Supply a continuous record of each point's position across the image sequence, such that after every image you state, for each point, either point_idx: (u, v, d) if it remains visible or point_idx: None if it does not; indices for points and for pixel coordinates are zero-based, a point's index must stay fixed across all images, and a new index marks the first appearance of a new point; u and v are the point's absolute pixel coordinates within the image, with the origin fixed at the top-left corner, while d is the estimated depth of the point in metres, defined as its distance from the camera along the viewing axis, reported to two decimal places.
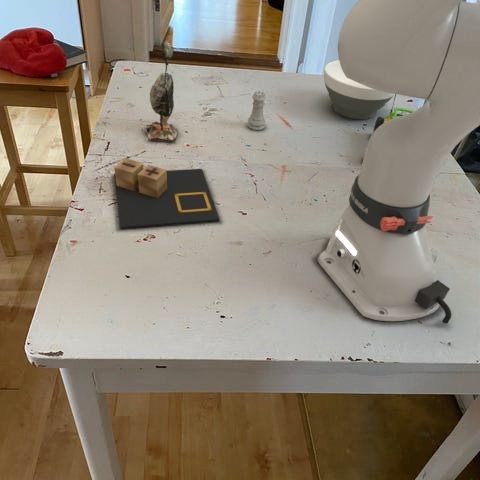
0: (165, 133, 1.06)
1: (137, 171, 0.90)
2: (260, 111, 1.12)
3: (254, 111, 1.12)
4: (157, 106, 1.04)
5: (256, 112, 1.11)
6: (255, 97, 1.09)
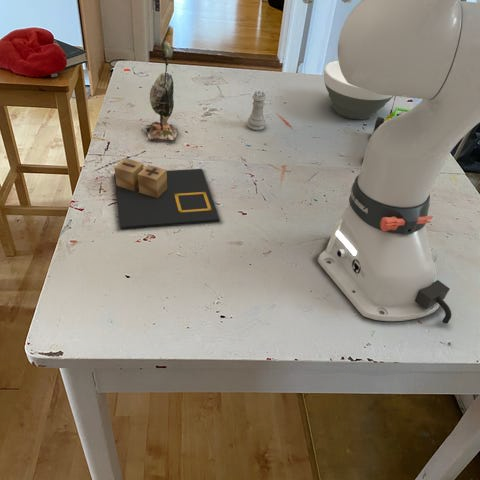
0: (165, 133, 1.06)
1: (137, 171, 0.90)
2: (260, 111, 1.12)
3: (254, 111, 1.12)
4: (157, 106, 1.04)
5: (256, 112, 1.11)
6: (255, 97, 1.09)
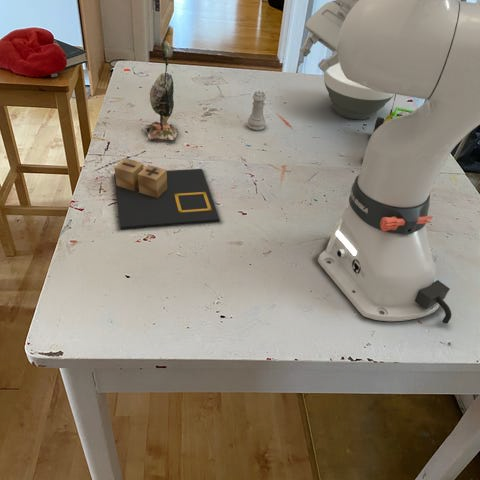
0: (165, 133, 1.06)
1: (137, 171, 0.90)
2: (260, 111, 1.12)
3: (254, 111, 1.12)
4: (157, 106, 1.04)
5: (256, 112, 1.11)
6: (255, 97, 1.09)
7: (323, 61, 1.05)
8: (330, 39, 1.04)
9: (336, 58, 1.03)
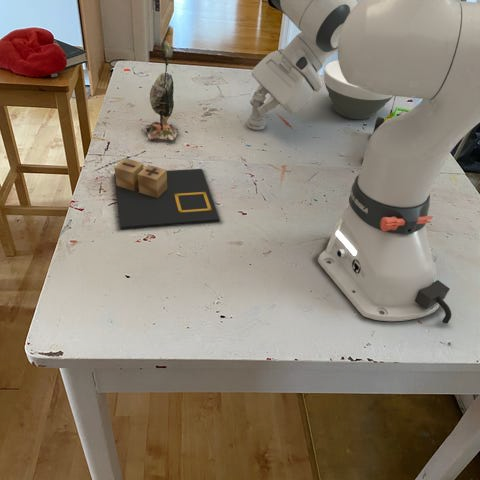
0: (165, 133, 1.06)
1: (137, 171, 0.90)
2: None
3: (254, 111, 1.12)
4: (157, 106, 1.04)
5: (256, 112, 1.11)
6: (255, 97, 1.09)
7: (260, 106, 1.10)
8: (271, 89, 1.08)
9: (272, 103, 1.08)
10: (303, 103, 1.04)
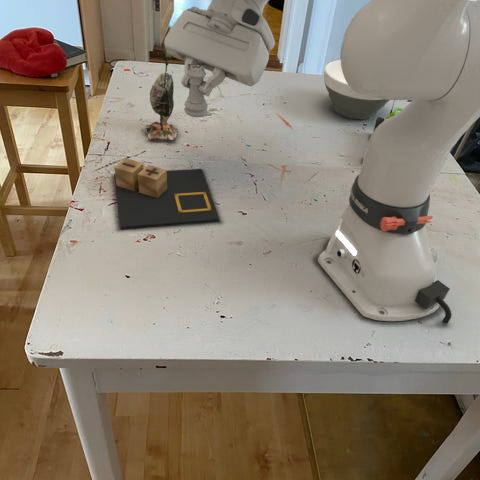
0: (165, 133, 1.06)
1: (137, 171, 0.90)
2: None
3: (194, 92, 0.85)
4: (157, 106, 1.04)
5: (198, 92, 0.85)
6: (195, 73, 0.83)
7: (204, 84, 0.84)
8: (214, 59, 0.83)
9: (220, 77, 0.84)
10: (263, 68, 0.83)
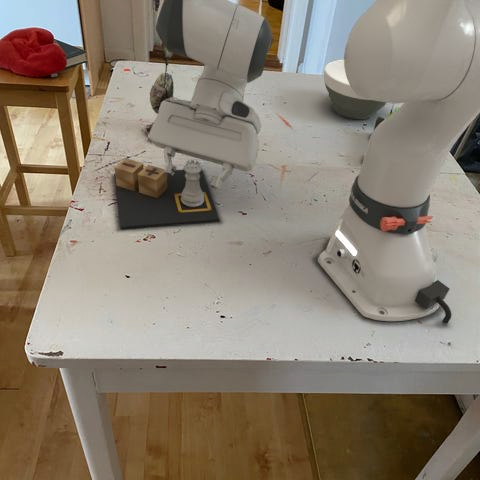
0: None
1: (137, 171, 0.90)
2: (198, 183, 0.87)
3: (192, 186, 0.87)
4: (157, 106, 1.04)
5: (195, 186, 0.87)
6: (192, 170, 0.84)
7: (216, 179, 0.84)
8: (209, 152, 0.84)
9: (229, 171, 0.85)
10: (257, 153, 0.85)
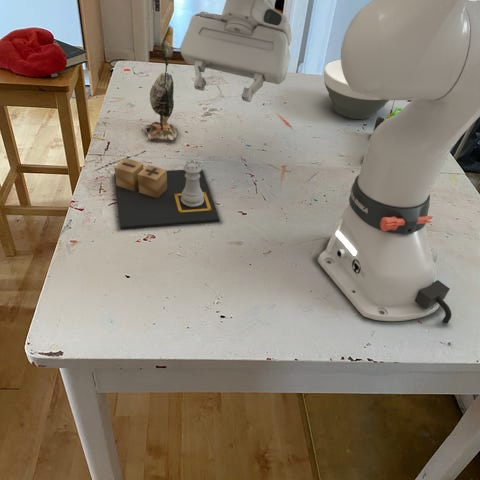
0: (165, 133, 1.06)
1: (137, 171, 0.90)
2: (198, 183, 0.87)
3: (192, 186, 0.87)
4: (157, 106, 1.04)
5: (195, 185, 0.87)
6: (192, 170, 0.84)
7: (247, 90, 0.85)
8: (240, 62, 0.84)
9: (261, 82, 0.85)
10: (288, 65, 0.86)
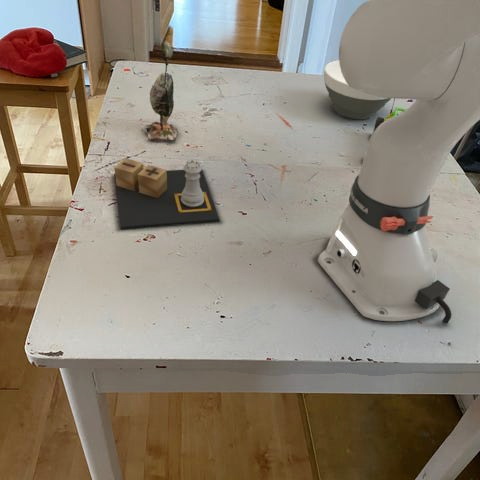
0: (165, 133, 1.06)
1: (137, 171, 0.90)
2: (198, 183, 0.87)
3: (192, 186, 0.87)
4: (157, 106, 1.04)
5: (195, 185, 0.87)
6: (192, 170, 0.84)
7: None
8: None
9: None
10: None
